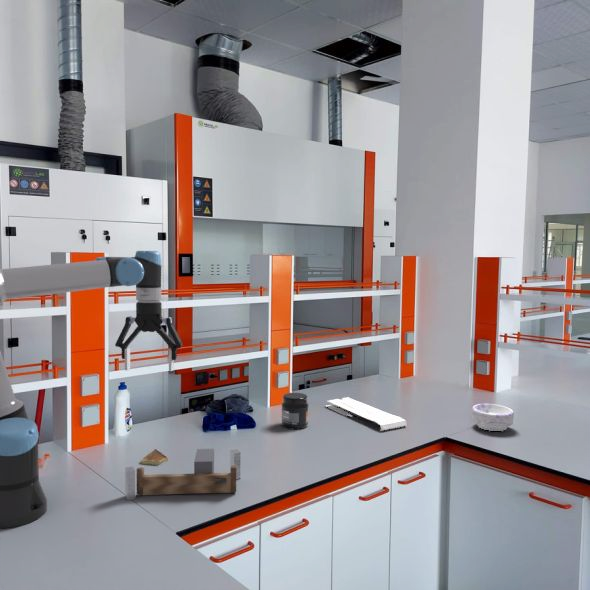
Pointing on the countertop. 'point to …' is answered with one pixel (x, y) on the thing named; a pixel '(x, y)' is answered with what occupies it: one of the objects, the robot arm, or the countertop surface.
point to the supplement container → (294, 410)
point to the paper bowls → (492, 416)
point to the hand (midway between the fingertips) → (149, 370)
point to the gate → (186, 483)
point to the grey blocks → (131, 474)
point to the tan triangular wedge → (154, 458)
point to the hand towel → (367, 413)
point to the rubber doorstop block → (204, 461)
